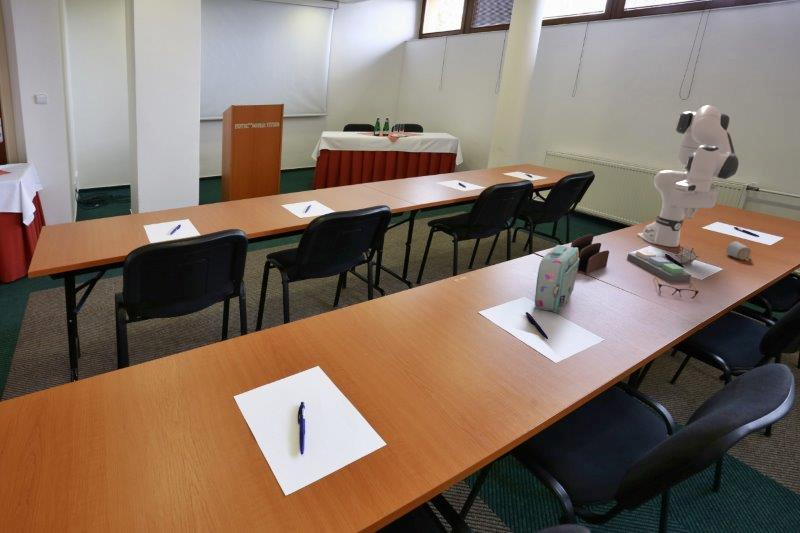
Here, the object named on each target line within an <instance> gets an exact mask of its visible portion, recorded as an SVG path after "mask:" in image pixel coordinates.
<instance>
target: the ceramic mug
mask: <svg viewBox="0 0 800 533" xmlns="http://www.w3.org/2000/svg"><path fill="white" fill-rule="evenodd" d="M751 253H752V252H751V249H750V248H749V247H748V246H746V245H745V244H743V243H741V242H739V241H733V242H730V243H729V244H728V245H727V247H726V254H727V255H729V256H730V257H733V258H735V259H737V260H740V261H741V260H742V261H744V260H746V259H749V260H750V259H751V258H752V256H751Z"/></svg>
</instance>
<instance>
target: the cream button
mask: <svg viewBox="0 0 800 533" xmlns="http://www.w3.org/2000/svg"><path fill="white" fill-rule="evenodd" d="M635 253H636V255H637V256H639V257H640V258H642V259H649V257H657V254H656V253H653V252H651V251H649V250H636V252H635Z"/></svg>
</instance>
